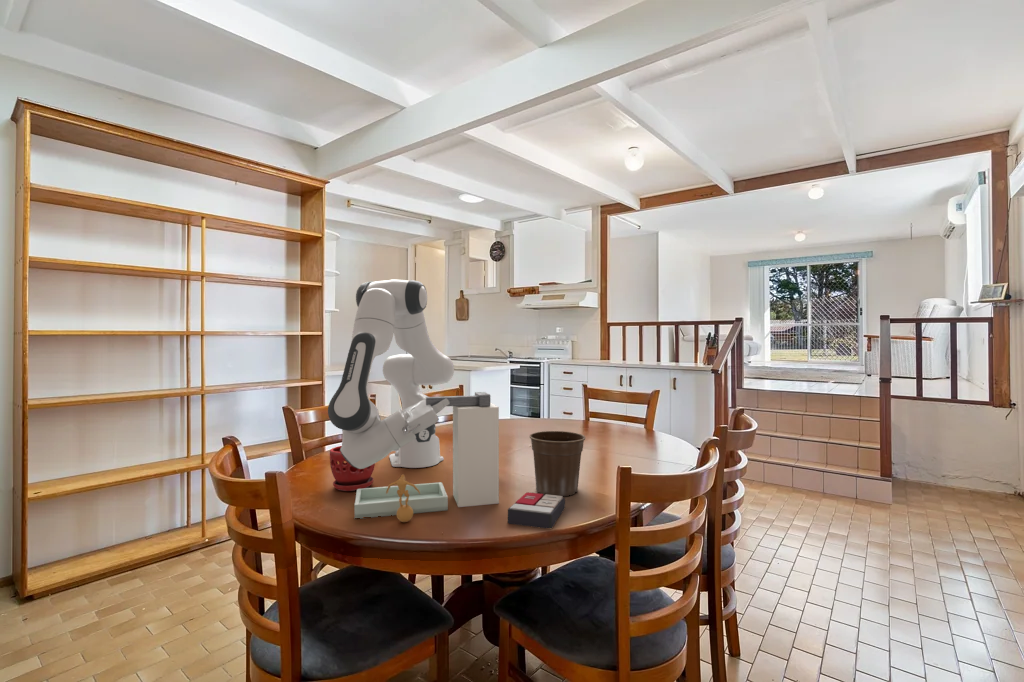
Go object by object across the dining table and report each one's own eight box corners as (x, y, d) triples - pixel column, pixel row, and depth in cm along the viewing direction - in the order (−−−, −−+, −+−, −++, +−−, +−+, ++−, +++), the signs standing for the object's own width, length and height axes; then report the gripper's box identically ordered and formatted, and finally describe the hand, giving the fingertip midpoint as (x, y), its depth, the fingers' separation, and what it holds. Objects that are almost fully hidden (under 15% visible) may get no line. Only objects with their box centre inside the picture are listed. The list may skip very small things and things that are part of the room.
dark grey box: (565, 494, 126) (551, 511, 112) (565, 511, 126) (551, 530, 112) (525, 490, 130) (507, 506, 115) (525, 506, 129) (507, 524, 115)
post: (453, 495, 136) (452, 403, 136) (490, 491, 139) (490, 402, 139) (458, 507, 126) (458, 408, 126) (498, 503, 129) (498, 407, 129)
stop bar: (424, 404, 132) (424, 393, 132) (485, 402, 137) (485, 392, 137) (427, 408, 125) (427, 396, 125) (490, 405, 130) (490, 394, 130)
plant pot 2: (568, 479, 151) (568, 428, 150) (596, 495, 136) (596, 438, 136) (520, 486, 144) (520, 432, 144) (544, 503, 129) (544, 443, 129)
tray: (357, 501, 131) (357, 488, 131) (441, 494, 137) (441, 482, 136) (354, 519, 118) (354, 504, 118) (447, 510, 124) (447, 496, 124)
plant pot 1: (384, 483, 148) (384, 444, 147) (355, 496, 135) (355, 453, 135) (350, 478, 152) (350, 440, 152) (319, 490, 140) (319, 449, 140)
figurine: (423, 518, 118) (423, 470, 118) (417, 528, 112) (417, 477, 112) (390, 518, 119) (390, 469, 118) (382, 527, 113) (382, 476, 112)
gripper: (397, 424, 117) (446, 394, 120) (395, 411, 137) (437, 386, 140) (410, 445, 118) (458, 415, 121) (406, 429, 137) (448, 404, 140)
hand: (447, 399), depth 130 cm, fingers closed on stop bar, 2 cm apart
